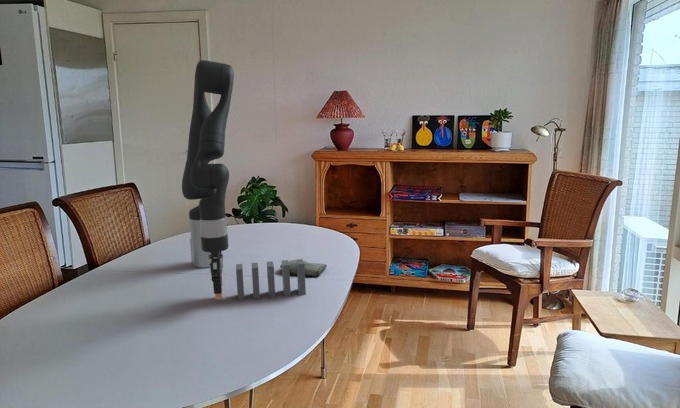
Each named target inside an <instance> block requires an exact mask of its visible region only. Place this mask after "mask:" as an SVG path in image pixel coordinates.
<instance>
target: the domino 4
mask: <svg viewBox="0 0 680 408" xmlns="http://www.w3.org/2000/svg"><path fill="white" fill-rule="evenodd" d="M266 273H267V275H266V277H267V291H268V298H269V299H271V298H276V287H275V285H276V283H275V267H274V261H266Z"/></svg>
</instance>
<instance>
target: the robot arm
mask: <svg viewBox="0 0 680 408" xmlns="http://www.w3.org/2000/svg"><path fill="white" fill-rule="evenodd" d="M234 75H235V72H234V68H233V66H232V65H231V64H227V63H223V62H216V61H212V60H206V59H205V60H203V59H200V60H198V62H197V64H196V66H195V72H194V85H193V103H192V112H191V113H192V114H191V118H190V125H189V133H188V143H187V155H186V160H185V164H184V165H185V166H184V171H183V175H182V181H181V192H182V195H183V197H184V198H185V199H186V200H189V201H191V200H192V201H194V200H199V201H198V202H199V203H198V205H197V206H195V207H193V208H191V209H190V210H189V212H188V216H189V217H188V218H189V219H188V220H189V228H190V230H189V231H190V232H189V233H190V238H189V244H190V246H189V247H190V256H191V259H190V260H191V264H192V265H193V267H195V268H200V269H201V268H204V269H206V268H209V272H210V275H211V276H210V277H211V279H210V280H211V282H212V285H213V287H212V288H213V294H214V295H215V294H220V293H222V294H223V286H222V287H221V280H222V281H223V275H222V274H223V270H224V254H223V253H222V252H224V251H226V250H228V248H229V236H228V233H229V232H228V223H227V219H226V205H225V203H226V194H227V189H228V185H229V182H230V181H229V179H230V171H229V169H228V167H227V166H226V165H225V164H224V163H210V162H211V161H215V160H218V159H221V158H222V157H224V155H225V154H224V153H225V143H226V141H225V139H226V128H227V122H228V116H229V112H230V107H231V102H232V101H231V100H232V95H233V94H232V93H233V87H234V77H235V76H234ZM205 93H206V94H207V93H208V94H213V95H218V96H219V95H220V98H219V101H218V103H217V105H216V106H215V107H214V109H213V110H212V111H211V109H210V107H209V104H208V102H207V98H206V94H205ZM214 274H218V275H219V277H214Z"/></svg>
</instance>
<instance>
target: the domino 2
mask: <svg viewBox="0 0 680 408" xmlns="http://www.w3.org/2000/svg"><path fill="white" fill-rule="evenodd" d="M235 272H236V273H235V274H236V291H237V293H236V294H237V301H245V285H244V283H245V282H244V273H243V272H244V269H243V263H238V264H237V263H236V264H235Z"/></svg>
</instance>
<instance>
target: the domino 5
mask: <svg viewBox="0 0 680 408" xmlns="http://www.w3.org/2000/svg"><path fill="white" fill-rule="evenodd" d="M288 261H289V259H287V260H286V259H283V260H281V264H282V269H281V272H282V273H281V274H282V276H281V277H282V291H283V292H282V293H283V295H284V297H291V295H292V294H291V293H292V292H291V278H290V277H291V275H290V274H291V273H290V271H289V263H288Z"/></svg>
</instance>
